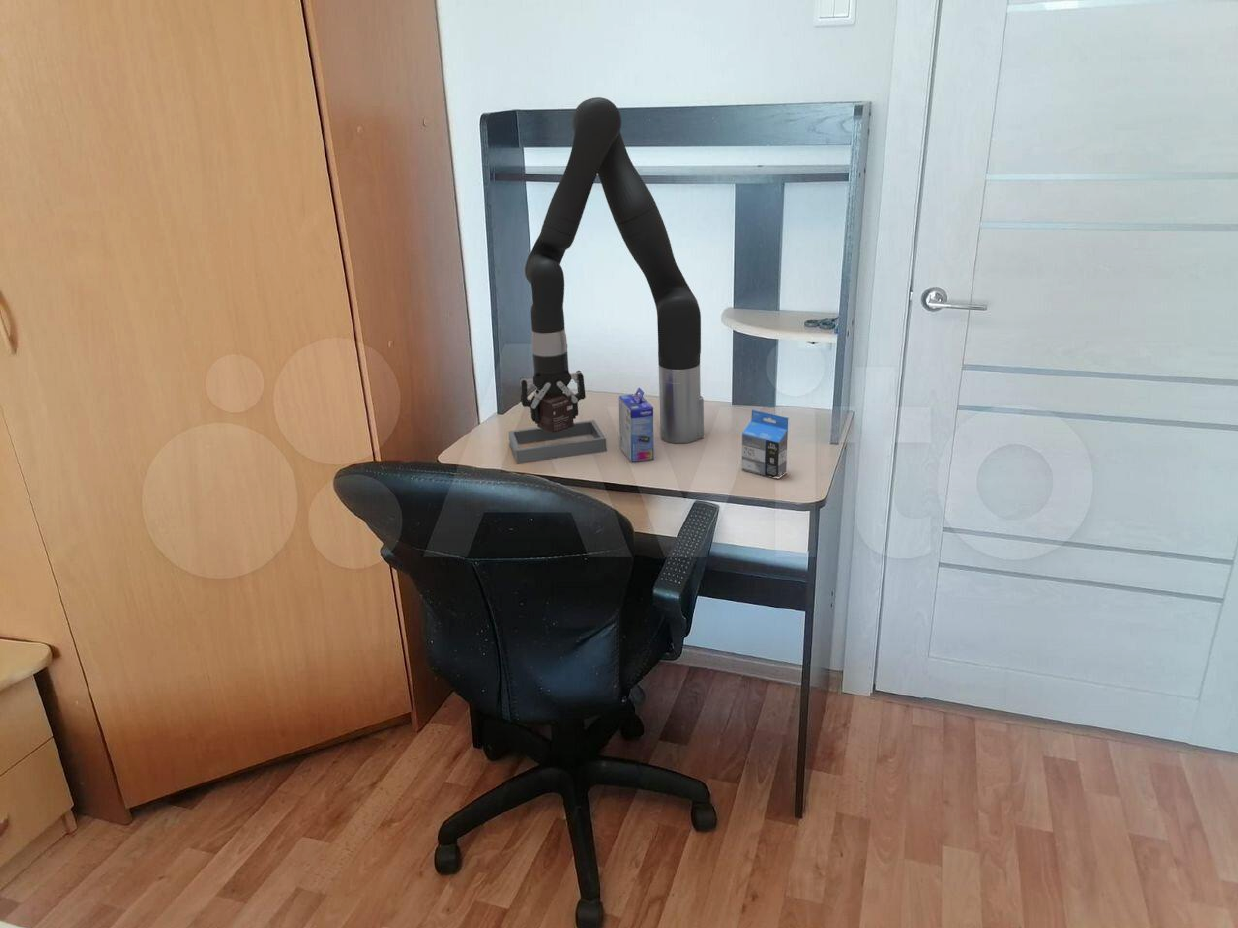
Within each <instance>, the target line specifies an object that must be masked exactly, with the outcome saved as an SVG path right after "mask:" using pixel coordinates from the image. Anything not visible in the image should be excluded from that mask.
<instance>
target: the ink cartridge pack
mask: <svg viewBox="0 0 1238 928" xmlns="http://www.w3.org/2000/svg"><path fill="white" fill-rule="evenodd" d="M750 417H751V419H750V422H749V423H748V424H747V426H746V428H745V429H744V430H743V431H742V433H741V470H742V469H743V470H742V471H746V472H748V473H749V472H750V473H752V472H755V473H754V474H756V473H758V474H757V475H760V474H762V475H761V476H763V475H766V476H765V477H767V476H771V477H780V476H781V475H783V474H784V473H785V472H786V473H787V466H788V465H787V464H788V462H787V461H788V459H787V458H788V457H787V456H788V439H789V436H788V435H789V417H786V416H781V415H777V414H773V413H769V412H764V411H759V410H755V409H751V416H750ZM764 419H771V420H772V421H775V422H772V421H767V420H764ZM771 477H770V478H771Z"/></svg>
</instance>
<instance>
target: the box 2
mask: <svg viewBox="0 0 1238 928" xmlns="http://www.w3.org/2000/svg"><path fill="white" fill-rule="evenodd" d="M573 423H574V426H573V427H570V428H568V429H565V430H562V431H559V432H556V433H551V432H549V431H546V430H544V429H542V428H539V427H532V428H531V427H530V428H524V429H517V430H516V429H515V430H510V431H509V430H508V432H507V433H508V441H509V442H508V443H509V445H510V448H511V451H512V454H513V456H514V459H515V461H516V464H517V463H519V464H524V463H531V462H532V463H533V462H539V461H546V460H554V459H559V458H567V457H574V456H581V455H582V456H583V455H588V454H589V455H590V454H595V453H601V452H602V453H603V452H607V450H608V449H607V437H606V436H605V435H604V433H603V432H602V430H601V429H600V427H599V424H598V423H597V422H596V421H595V419H592V420H591V419H590V420H585V421H584V420H583V421H576V422H573ZM587 435H591V436H592V437H593V438H587V439H581V440H580V439H579V440H573V441H566V442H565V441H564V442H559V443H553V444H546V445H545V444H543V445H537V446H529V447H524V448H520V446H519V445H520V444H522V445H523V444H528V443H535V442H543V441H550V440H557V439H565V438H572V437H580V436H587Z"/></svg>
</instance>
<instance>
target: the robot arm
mask: <svg viewBox="0 0 1238 928" xmlns="http://www.w3.org/2000/svg"><path fill="white" fill-rule="evenodd" d="M621 127H622V117H621V112H620V110H619V109H618V106H616V104H615V103H614V102H612V100H610V99H608V98H605V97H601V96H597V97H596V96H595V97H590V98H588V99H585V100H584V101H582V102H580V104H579V105H577V107H576V108H575V111H574V113H573V116H572V129H573V132H574V136H573V142H572V147H571V150H570V154H569V157H568V160H567V164H566V166H565V169H564V172H563V174H562V176H561V178H560V181H559V183H558V185H557V187H556V189H555V191H554V193H553V196H552V198H551V200H550V204H549V206H548V208H547V212H546V214H545V217H544V220H543V224H542V225H541V230H540V233H539V235H538V237H537V238H536V240H535V242H534V245H533V246H532V248H531V250H530V252H529V255H528V257H527V260H526V263H525V267H524V273H525V274H524V275H525V277H526V279H527V281H528V282H529V284H530V286H531V287H530V288H531V295H532V305H531V306H530V325H531V353H532V364H533V377H531V378H529V377H528V378H525V377H520V378H519V387H520V388H519V392H520V403H521V405H522V407H524V408H526V407H528V408H529V410H530V412H529V413H530V418H531V421H532V422H533V423H534V424H535V425H536V424H538V423H539V421H538V408H537V405H538V403H539V401H541V399H542V398H543V396H544V395H546V396H551V395H561V393H565V394H566V395H567V396H568V397H569V396H572V410H573V420H575V419H577V418H576V417H577V416H579V401H581V400H585V399H586V397H587V395H586V387H585V376H584V374H583V373H582V371H580V370H577V371H576V372H572V373H570V370H569V359H568V343H567V334H566V329H565V328H566V327H565V316H564V298H565V297H564V296H565V277H564V272H563V268H562V266H561V262H562V259H563V257H564V255H565V253H566V251H567V250H568V249H570V248H571V247H572V245H573V243H574V240H575V238H576V235H577V233H578V229H579V227H580V224H581V221H582V219H583V215H584V212H585V209H586V205H587V203H588V200H589V198H590V197H589V196H590V194H591V191H592V188H593V185H594V182H595V179H596V177H597V176H598V178H599V181H600V184H601V186H602V191H603V192H604V197H605V199H606V202H607V206H608V209H609V210H610V213H611V215H612V218H613V220H614V223H615V225H616V227H617V231H618V232H619V233H620V236H621V238H622V240H623V243H624V244H625V246H626V248H627V250H628V252H629V254H630V255H631V256H632V258H633V259H634V261H635V263H636V264H637V266H638V267H639V269H640V270H641V272H642V273H643V275H644V277H645V279H646V282H647V284H648V288H649V289H650V293H651V295H652V298H653V301H654V305H655V309H656V315H657V317H656V318H657V319H656V320H657V321H656V322H657V359H658V360H657V362H658V392H659V393H658V394H659V397H658V398H659V425H660V426H659V429H660V430H659V431H660V438H661V440H664V441H665V442H668V443H673V444H674V443H675V444H687V443H693V442H696V441H697V440H699V439H703V438H705V413H704V410H705V406H704V405H705V401H704V400H705V399H704V397H703V396H702V395H701V393H702V391H701V389H702V388H701V385H702V383H701V355H702V316H701V315H702V314H701V309H700V305H699V302H698V299H697V297H696V296H695V294H694V293H693V292H692V290H691V288H690V286H689V284H688V283H687V281H686V280H685V277H684V276H683V273H682V271H681V269H680V268H679V265H678V263H677V261H676V258H675V255H674V252H673V246H672V244H671V240H670V237H669V234H668V231H667V228H666V225H665V222H664V220H663V218H662V215H661V212H660V210H659V208H658V206H657V204H656V201H655V200H654V197H653V195H652V193H651V191H650V190H649V188H648V186H647V185H646V183H645V181H644V180H643V178H642V177H641V175H640V174H639V172H638V170H637V169H636V167H635V166H634V164H633V162H632V161H631V157H630V156H629V154H628V152H627V148H626V145H625V143H624V140H623V136H622V133H621ZM572 380H573V382H574V383H576V385H577V386H576V387H577V393H575V394H574V392H573V391H572V390H571V389H570V388H569V386H568V385H569V384H570V383H571V381H572ZM532 384H533V385H534V386H535V387H536V389H535V390H534V392H533V395H532V397H531V398H530V399H529V397H528V396H529V395H528V389H530V388H531V387H532V386H531V385H532Z"/></svg>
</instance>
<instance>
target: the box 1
mask: <svg viewBox="0 0 1238 928" xmlns="http://www.w3.org/2000/svg"><path fill="white" fill-rule="evenodd" d="M537 408H538V421H539V423H538V424H537V425H536V426H537V427H536V428H538V427H539V428H542V429H544V430H546V431H549V432H551V433H556V432H559V431H562V430H565V429H568V428H570V427H573V426H574V423H575V422H574V419H573V410H572V396H569V397H568V396H567V395H566V394H565V393H564V392H563V393H561V395H551V396H546V395H544V396H543V398H542V399H541V401H539V403H538V405H537Z"/></svg>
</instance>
